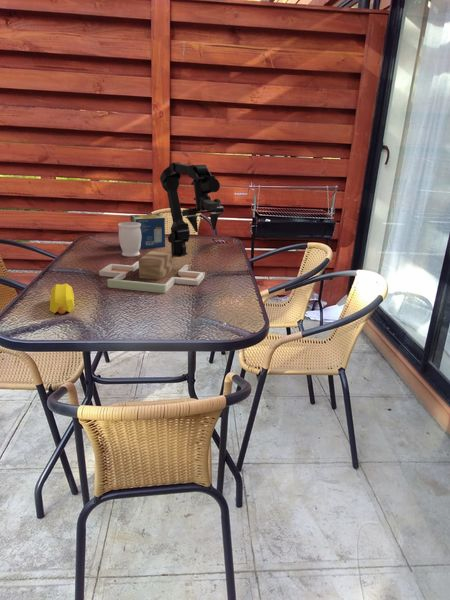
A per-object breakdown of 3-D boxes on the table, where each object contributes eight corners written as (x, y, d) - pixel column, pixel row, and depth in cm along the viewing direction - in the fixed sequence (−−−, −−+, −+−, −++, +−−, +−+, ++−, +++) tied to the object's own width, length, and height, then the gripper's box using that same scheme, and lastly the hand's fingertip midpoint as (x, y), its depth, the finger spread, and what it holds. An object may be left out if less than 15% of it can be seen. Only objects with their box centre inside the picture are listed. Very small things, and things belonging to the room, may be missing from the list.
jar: (144, 252, 220) (143, 222, 215) (138, 258, 211) (137, 226, 205) (123, 251, 221) (122, 221, 216) (116, 256, 211) (114, 225, 206)
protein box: (131, 244, 234) (129, 215, 228) (159, 242, 240) (159, 213, 234) (136, 249, 225) (135, 218, 219) (165, 247, 231) (165, 217, 225)
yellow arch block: (74, 296, 162) (51, 298, 160) (72, 279, 160) (49, 280, 158) (74, 315, 146) (49, 317, 144) (72, 296, 144) (47, 298, 142)
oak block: (152, 267, 198) (151, 250, 195) (171, 269, 196) (171, 251, 193) (139, 278, 184) (138, 259, 181) (160, 280, 182) (159, 261, 179)
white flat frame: (119, 262, 203) (118, 256, 201) (209, 271, 195) (209, 264, 194) (85, 284, 174) (84, 277, 173) (189, 295, 166) (189, 288, 165)
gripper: (193, 194, 182) (198, 232, 185) (229, 191, 192) (233, 228, 195) (179, 196, 191) (183, 233, 193) (214, 194, 201) (218, 229, 204)
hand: (205, 231), depth 196 cm, fingers open, 9 cm apart
